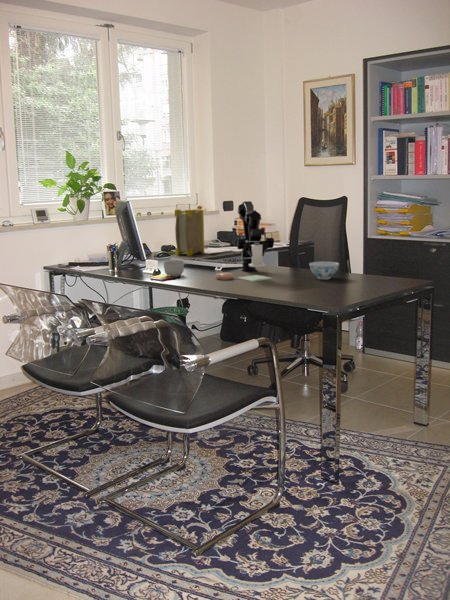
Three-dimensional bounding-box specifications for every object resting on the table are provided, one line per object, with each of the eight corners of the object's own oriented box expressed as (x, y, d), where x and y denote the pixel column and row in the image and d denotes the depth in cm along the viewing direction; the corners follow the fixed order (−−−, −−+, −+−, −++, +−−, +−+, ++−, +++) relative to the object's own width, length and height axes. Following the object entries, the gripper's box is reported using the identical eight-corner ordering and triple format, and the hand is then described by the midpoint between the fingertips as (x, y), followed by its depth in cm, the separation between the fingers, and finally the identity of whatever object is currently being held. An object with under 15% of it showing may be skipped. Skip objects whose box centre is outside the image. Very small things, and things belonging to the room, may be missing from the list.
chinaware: (304, 277, 359) (304, 262, 358) (329, 275, 364) (329, 260, 363) (318, 281, 346) (318, 266, 344) (344, 279, 351) (344, 264, 349)
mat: (257, 276, 366) (257, 274, 366) (272, 279, 356) (272, 277, 356) (237, 278, 359) (237, 277, 359) (252, 281, 349) (252, 280, 349)
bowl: (226, 276, 366) (226, 271, 366) (236, 278, 359) (236, 274, 359) (212, 278, 362) (212, 273, 361) (222, 280, 354) (222, 275, 354)
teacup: (181, 277, 367) (180, 262, 365) (161, 277, 369) (160, 262, 367) (187, 273, 380) (187, 259, 379) (168, 273, 382) (168, 258, 381)
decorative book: (192, 251, 473) (191, 207, 468) (205, 252, 467) (204, 208, 461) (174, 255, 457) (173, 209, 451) (187, 256, 451) (186, 210, 445)
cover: (251, 264, 361) (251, 241, 359) (267, 264, 358) (267, 242, 355) (246, 266, 353) (246, 243, 351) (262, 267, 350) (262, 244, 348)
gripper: (237, 223, 354) (240, 247, 345) (273, 222, 356) (277, 246, 347) (235, 236, 363) (238, 260, 355) (270, 235, 365) (274, 259, 357)
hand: (257, 256), depth 353 cm, fingers closed on cover, 6 cm apart
